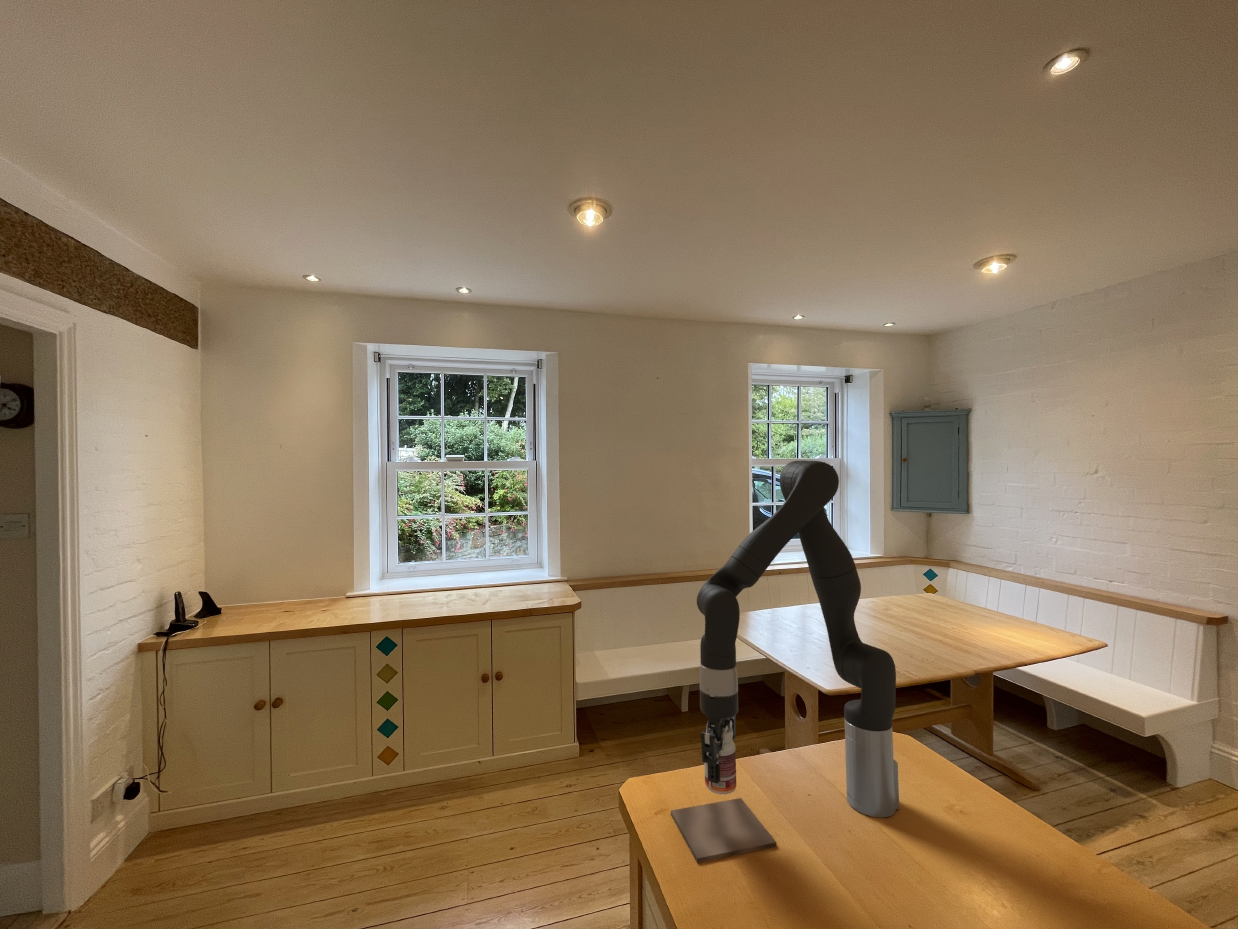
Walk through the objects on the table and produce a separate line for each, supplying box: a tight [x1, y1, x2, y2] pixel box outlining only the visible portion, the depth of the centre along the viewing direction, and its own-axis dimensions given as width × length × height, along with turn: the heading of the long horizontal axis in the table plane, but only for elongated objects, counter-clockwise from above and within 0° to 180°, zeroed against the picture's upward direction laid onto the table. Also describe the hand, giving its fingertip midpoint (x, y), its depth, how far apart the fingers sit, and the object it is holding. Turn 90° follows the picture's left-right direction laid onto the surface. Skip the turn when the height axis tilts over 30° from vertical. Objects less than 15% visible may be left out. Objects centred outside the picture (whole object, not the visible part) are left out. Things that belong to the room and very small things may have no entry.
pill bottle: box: [703, 728, 737, 795], centre depth 100 cm, size 6×6×11 cm
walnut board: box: [670, 797, 778, 864], centre depth 100 cm, size 16×14×1 cm
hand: (720, 772), depth 100 cm, fingers closed on pill bottle, 6 cm apart
